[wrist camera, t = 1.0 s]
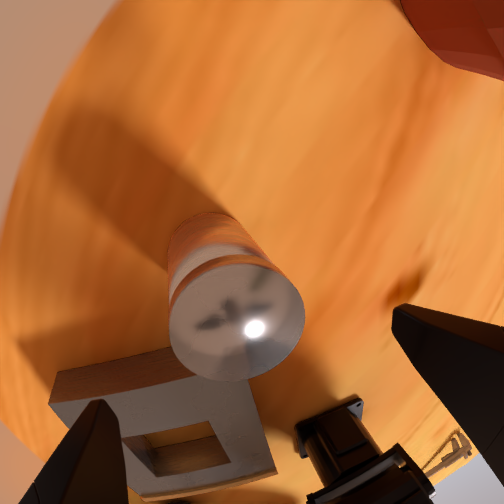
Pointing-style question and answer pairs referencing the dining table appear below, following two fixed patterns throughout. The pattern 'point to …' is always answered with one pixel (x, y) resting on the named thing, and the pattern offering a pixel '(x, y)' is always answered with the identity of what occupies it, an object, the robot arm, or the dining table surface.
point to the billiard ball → (178, 503)
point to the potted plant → (462, 32)
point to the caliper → (453, 454)
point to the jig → (171, 423)
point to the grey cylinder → (228, 301)
